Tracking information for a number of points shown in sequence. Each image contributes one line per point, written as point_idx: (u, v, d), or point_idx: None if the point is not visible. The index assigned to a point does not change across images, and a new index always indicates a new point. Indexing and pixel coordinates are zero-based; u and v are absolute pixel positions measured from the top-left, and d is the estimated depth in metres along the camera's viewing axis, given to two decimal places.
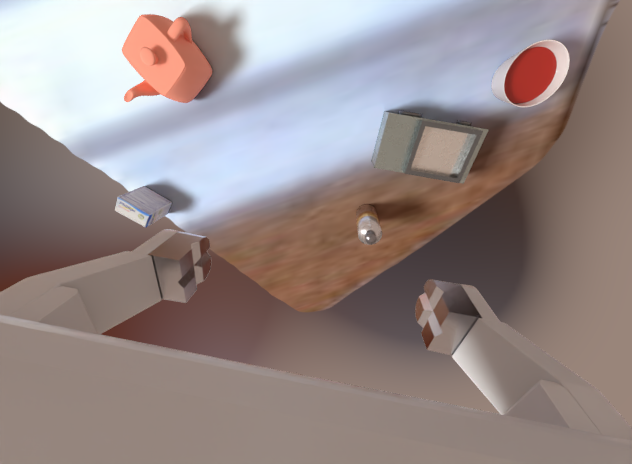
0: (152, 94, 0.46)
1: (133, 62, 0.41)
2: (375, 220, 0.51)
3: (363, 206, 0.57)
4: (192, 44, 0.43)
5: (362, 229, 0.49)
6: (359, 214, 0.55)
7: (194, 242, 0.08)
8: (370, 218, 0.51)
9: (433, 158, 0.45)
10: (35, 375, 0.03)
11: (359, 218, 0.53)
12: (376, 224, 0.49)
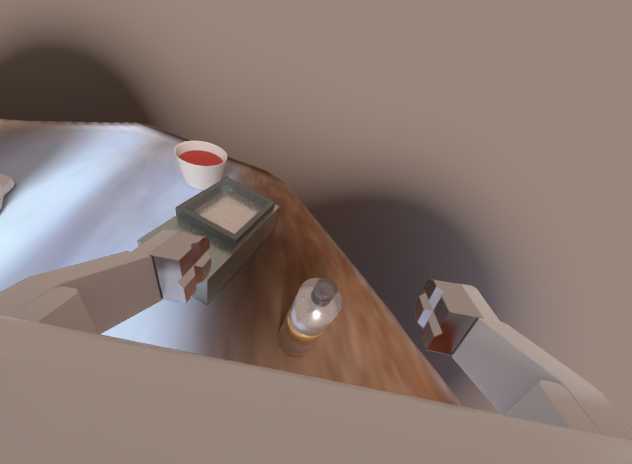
0: None
1: None
2: None
3: (279, 335, 0.31)
4: None
5: (306, 306, 0.24)
6: (288, 336, 0.28)
7: (194, 241, 0.08)
8: (293, 301, 0.27)
9: (234, 218, 0.36)
10: (35, 375, 0.03)
11: (292, 330, 0.27)
12: None
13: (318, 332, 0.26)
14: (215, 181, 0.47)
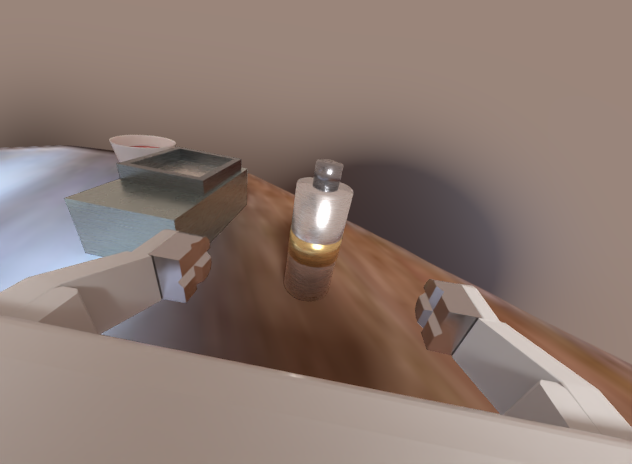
0: None
1: None
2: None
3: (286, 280, 0.24)
4: None
5: (312, 192, 0.18)
6: (297, 264, 0.22)
7: (194, 242, 0.08)
8: (293, 212, 0.21)
9: (197, 176, 0.30)
10: (35, 375, 0.03)
11: (301, 246, 0.21)
12: None
13: (335, 235, 0.20)
14: None
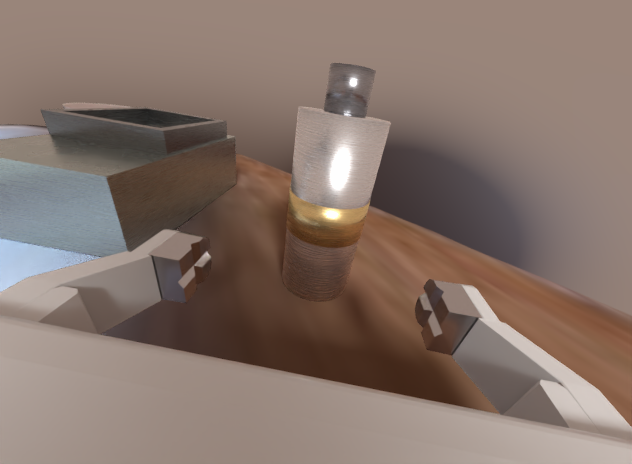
0: None
1: None
2: None
3: (285, 270, 0.16)
4: None
5: (325, 112, 0.11)
6: (302, 243, 0.14)
7: (194, 241, 0.08)
8: (293, 161, 0.13)
9: None
10: (35, 375, 0.03)
11: (307, 213, 0.13)
12: None
13: (361, 193, 0.12)
14: None
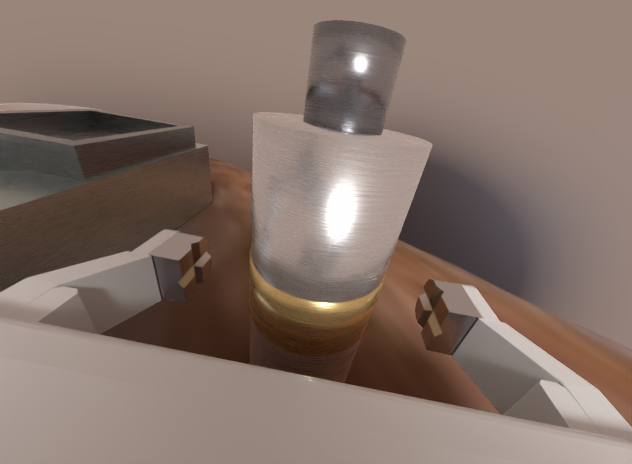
0: None
1: None
2: None
3: (250, 364, 0.10)
4: None
5: (300, 128, 0.05)
6: (270, 344, 0.08)
7: (194, 241, 0.08)
8: None
9: None
10: (35, 375, 0.03)
11: (276, 305, 0.07)
12: None
13: (373, 273, 0.07)
14: None
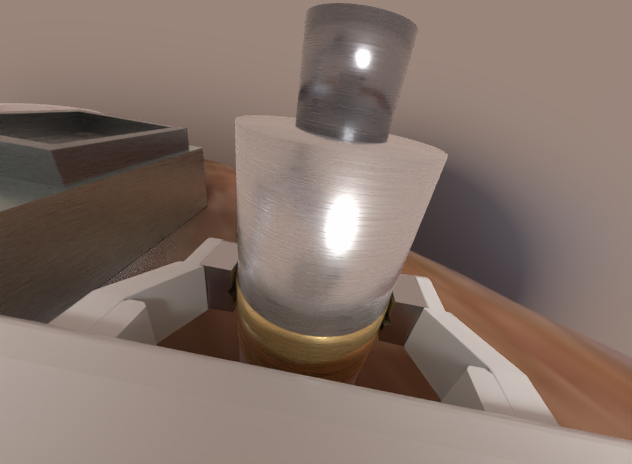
0: None
1: None
2: None
3: None
4: None
5: (289, 136, 0.04)
6: None
7: None
8: None
9: None
10: (35, 375, 0.03)
11: (264, 337, 0.06)
12: None
13: (377, 302, 0.06)
14: None
